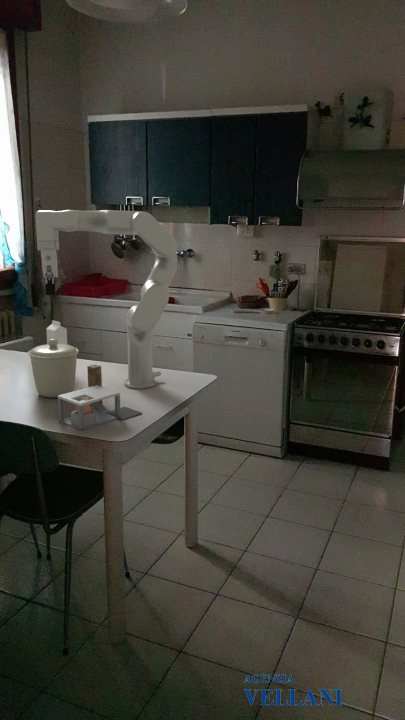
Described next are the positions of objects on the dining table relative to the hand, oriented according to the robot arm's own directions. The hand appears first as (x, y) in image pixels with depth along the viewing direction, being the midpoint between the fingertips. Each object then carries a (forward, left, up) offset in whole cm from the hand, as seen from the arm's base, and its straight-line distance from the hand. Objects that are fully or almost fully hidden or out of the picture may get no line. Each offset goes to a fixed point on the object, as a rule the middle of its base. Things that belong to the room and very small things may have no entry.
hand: (50, 293), depth 215 cm
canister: (+3, +4, -37) cm, 38 cm away
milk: (-15, -20, -37) cm, 45 cm away
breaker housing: (+11, +35, -37) cm, 52 cm away
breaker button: (+15, +37, -34) cm, 52 cm away
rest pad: (0, +39, -37) cm, 54 cm away
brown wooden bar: (0, +24, -37) cm, 44 cm away
